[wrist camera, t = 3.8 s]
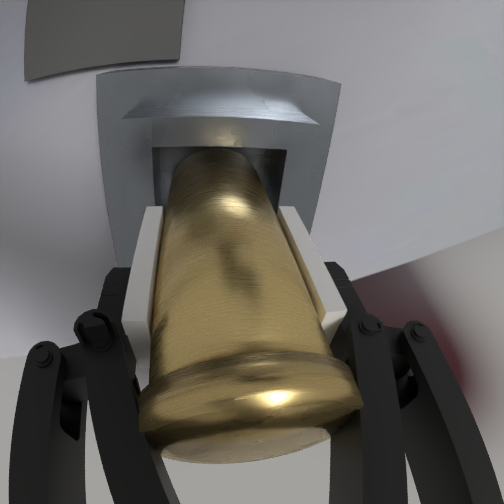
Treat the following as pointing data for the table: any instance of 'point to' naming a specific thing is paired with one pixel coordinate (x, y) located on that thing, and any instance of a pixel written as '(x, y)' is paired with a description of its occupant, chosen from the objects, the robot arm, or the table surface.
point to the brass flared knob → (235, 328)
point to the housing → (209, 135)
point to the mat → (99, 33)
